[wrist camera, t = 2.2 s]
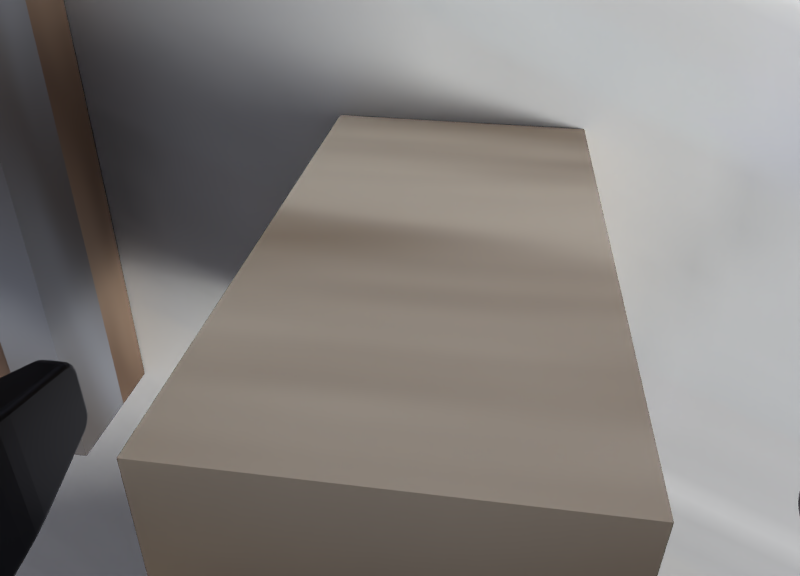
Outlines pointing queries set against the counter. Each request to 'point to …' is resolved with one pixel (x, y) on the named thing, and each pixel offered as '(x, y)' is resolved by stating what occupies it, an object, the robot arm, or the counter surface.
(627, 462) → the block
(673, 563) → the counter surface
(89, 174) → the track
